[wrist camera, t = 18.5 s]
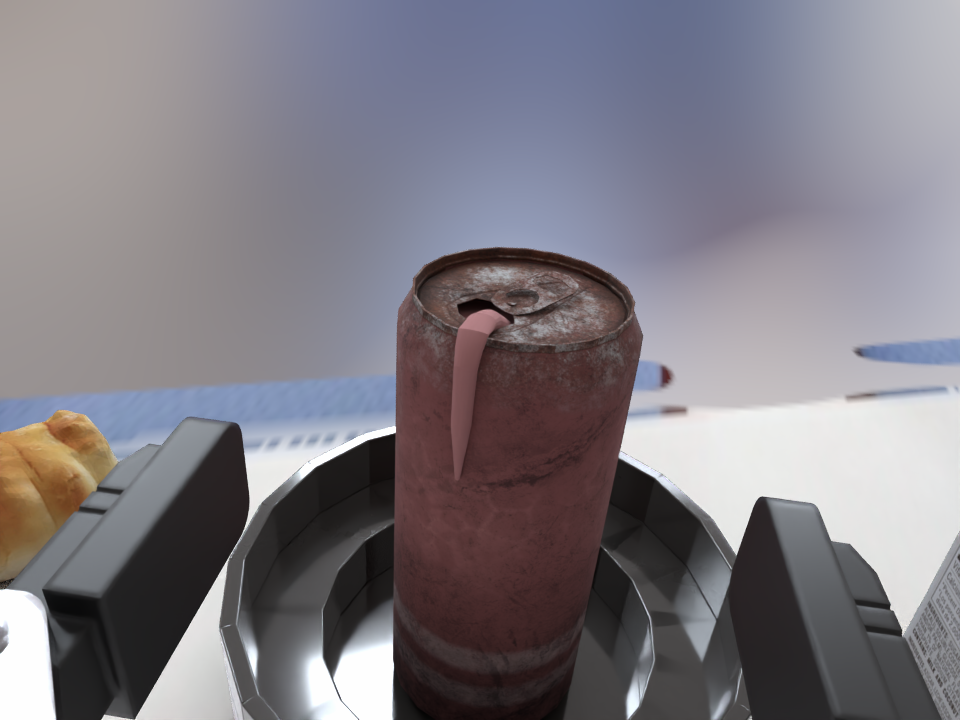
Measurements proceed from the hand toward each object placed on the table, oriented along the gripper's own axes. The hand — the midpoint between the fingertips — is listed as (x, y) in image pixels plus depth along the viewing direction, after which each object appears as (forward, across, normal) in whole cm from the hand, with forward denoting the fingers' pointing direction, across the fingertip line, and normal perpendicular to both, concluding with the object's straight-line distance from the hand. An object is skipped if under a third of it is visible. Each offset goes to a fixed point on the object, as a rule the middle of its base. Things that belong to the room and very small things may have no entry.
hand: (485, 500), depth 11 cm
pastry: (+11, +19, +14) cm, 26 cm away
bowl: (+8, 0, +14) cm, 16 cm away
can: (+7, 0, +14) cm, 16 cm away
